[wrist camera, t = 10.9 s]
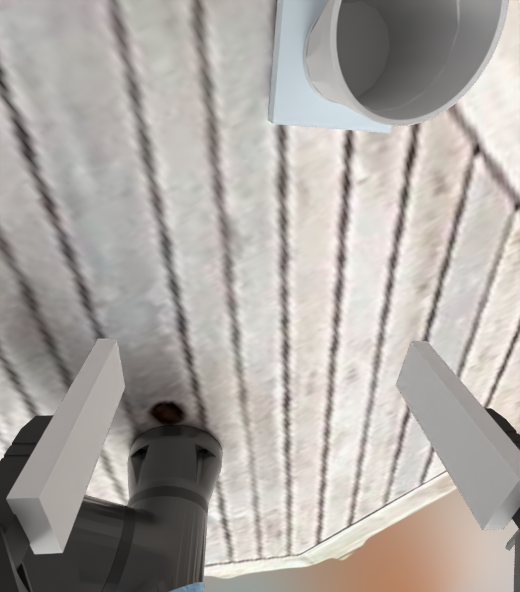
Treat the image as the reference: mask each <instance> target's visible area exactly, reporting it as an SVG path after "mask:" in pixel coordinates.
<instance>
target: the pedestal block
mask: <svg viewBox="0 0 520 592" xmlns="http://www.w3.org/2000/svg"><path fill="white" fill-rule="evenodd" d="M328 2H329V0H277V12H276V24H275V37H274V50H273V63H272V76H271V89H270V102H269V115H268V120H269V121H270V122H271V123H273V124H282V125H295V126H307V127H320V128H332V129H345V130H357V131H369V132H382V133H391V129H392V126H389V125H384V124H380V123H377V122H375V121H372V120H370V119H368V118H366V117H364V116H362V115H360V114H358V113H356V112H354V111H353V110H351V109H349V108H348V107H346V106H344V105H341V104H336V103H331V102H328V101H325V100H323V99H322V98H320V97H319V96H318V95H317V94H316V93H315V92H314V91H313V90H312V88H311V87H310V85H309V83H308V81H307V79H306V76H305V73H304V68H303V49H304V44H305V40H306V37H307V34H308V32H309V30H310V28H311V26H312V24H313V23H314V21H315V20H316V19H317V17H318V16H319V15H320V14H321V13H322V12H323V10H324V8H325V7H326V5H327V3H328Z"/></svg>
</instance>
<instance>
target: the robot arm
mask: <svg viewBox="0 0 520 592" xmlns="http://www.w3.org/2000/svg"><path fill="white" fill-rule="evenodd" d="M396 387H397V388H398V390H399V392H400V393H401V395H402V397H403V398H404V400H405V402H406V403H407V405H408V407H409V408H410V410H411V412H412V413H413V415H414V417H415V418H416V420H417V422H418V423H419V425H420V427H421V428H422V430H423V432H424V433H425V435H426V437H427V438H428V440H429V442H430V443H431V445H432V447H433V448H434V450H435V452H436V453H437V455H438V457H439V458H440V460H441V462H442V463H443V465H444V467H445V468H446V470H447V472H448V473H449V475H450V477H451V478H452V480H453V482H454V483H455V485H456V487H457V488H458V490H459V492H460V493H461V495H462V497H463V498H464V500H465V502H466V503H467V505H468V507H469V508H470V510H471V512H472V513H473V515H474V517H475V518H476V520H477V522H478V523H479V525H480V527H481V529H482V530H497V529H504V528H505V527H506V526H507V525H508V523H509V522H510V521H511V519H513V520H514V522H515V523H516V525H517V526H518V528H519V529H518V531H517V532H516V533H515V534H514V535H513V537H512V538H511V539H510V540H509V542H508V543H507V545H506V549H507V550H510V549H511V548H512V547H513V546H514V545H515V568H514V592H520V435H519V434H517V433H516V430H515V429H514V428H513V427H512V426H511V425H510V423H509V422H508V421H507V420H506V419H505V418H504V417H502V416H501V415H499V414H498V413H497V412H495V411H494V410H493V409H491V408H490V409H484V408H483V407H482V405H481V404H480V403H479V402H478V401H477V399H476V398H475V397H474V396H473V395H472V394H471V392H470V391H469V390H468V389H467V388H466V386H465V385H464V384H463V383H462V382H461V381H460V379H459V378H458V377H457V376H456V375H455V374H454V372H453V371H452V370H451V369H450V368H449V366H448V365H447V364H446V363H445V362H444V361H443V359H442V358H441V357H440V356H439V355H438V354H437V352H436V351H435V350H434V349H433V348H432V346H431V345H430V344H429V343H428V342H427V341H411V343H410V346H409V349H408V352H407V355H406V358H405V360H404V363H403V366H402V369H401V372H400V374H399V377H398V380H397V383H396ZM124 389H125V383H124V377H123V371H122V365H121V359H120V354H119V348H118V342H117V339H98V340H97V341H96V343H95V345H94V346H93V348H92V350H91V352H90V353H89V355H88V357H87V359H86V360H85V362H84V364H83V366H82V367H81V369H80V371H79V373H78V374H77V376H76V378H75V380H74V381H73V383H72V385H71V386H70V388H69V390H68V392H67V393H66V395H65V397H64V399H63V400H62V402H61V404H60V406H59V407H58V409H57V411H56V413H55V414H54V415H53V416H35V417H34V418H33V419H32V420H31V421H30V422H28V423H27V424H26V425H25V426H24V427H23V428H21V430H20V432H19V433H18V435H17V436H16V438H15V439H14V441H13V442H12V446H10V447H9V448H8V450H7V451H6V453H5V454H4V458H2V459H1V461H0V592H203V589H204V582H203V580H204V579H203V578H204V564H205V549H206V533H207V516H208V504H209V501H210V498H211V495H212V493H213V490H214V488H215V485H216V482H217V480H218V477H219V474H220V472H221V467H222V450H221V447H220V445H219V443H218V442H217V441H216V440H215V439H214V438H213V437H212V436H210V435H209V434H207V433H205V432H203V431H201V430H198V429H195V428H191V427H186V426H163V427H158V428H155V429H152V430H149V431H147V432H145V433H143V434H142V435H140V436H139V437H138V438H137V439H136V440H135V441H134V443H133V445H132V447H131V451H130V454H129V458H128V486H129V501H128V505H127V506H124V505H121V504H117V503H113V502H110V501H106V500H102V499H99V498H95V497H91V496H88V495H85V493H86V490H87V487H88V485H89V482H90V479H91V477H92V474H93V471H94V469H95V466H96V463H97V461H98V458H99V455H100V453H101V450H102V447H103V445H104V442H105V439H106V437H107V434H108V431H109V429H110V426H111V424H112V421H113V418H114V416H115V413H116V410H117V408H118V405H119V402H120V400H121V397H122V394H123V392H124Z"/></svg>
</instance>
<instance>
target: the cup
mask: <svg viewBox="0 0 520 592" xmlns="http://www.w3.org/2000/svg"><path fill="white" fill-rule="evenodd" d="M508 3H509V0H329V2H328V3H327V5H326V7H325V8H324V10H323V12H322V13H321V14H320V15H319V16H318V17H317V19H316V20H315V21H314V23H313V24H312V26H311V28H310V30H309V32H308V34H307V37H306V40H305V44H304V49H303V68H304V73H305V76H306V79H307V81H308V83H309V85H310V87H311V88H312V90H313V91H314V92H315V93H316V94H317V95H318V96H319V97H320V98H322V99H323V100H325V101H328V102H331V103H336V104H341V105H344V106H346V107H348V108H349V109H351V110H353V111H354V112H356V113H358V114H360V115H362V116H364V117H366V118H368V119H370V120H372V121H375V122H377V123H380V124H384V125H389V126H408V125H413V124H418V123H421V122H424V121H427V120H429V119H431V118H433V117H435V116H437V115H439V114H441V113H442V112H444V111H445V110H447V109H448V108H450V107H451V106H452V105H454V104H455V103H456V102H457V101H458V100H459V99H461V98H462V97H463V96H464V95H465V94H466V93H467V91H468V90H469V89H470V88H471V87H472V86H473V85H474V83H475V82H476V81H477V80H478V78H479V77H480V75H481V74H482V72H483V71H484V69H485V68H486V66H487V64H488V63H489V61H490V59H491V57H492V55H493V53H494V51H495V49H496V46H497V44H498V42H499V39H500V36H501V33H502V30H503V27H504V23H505V19H506V15H507V10H508Z"/></svg>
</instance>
